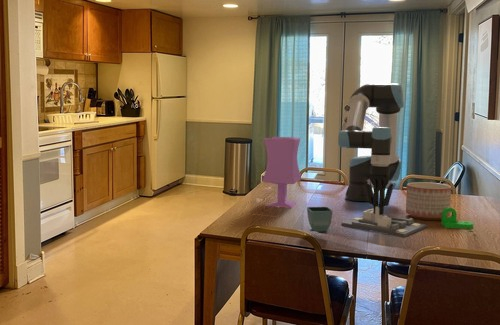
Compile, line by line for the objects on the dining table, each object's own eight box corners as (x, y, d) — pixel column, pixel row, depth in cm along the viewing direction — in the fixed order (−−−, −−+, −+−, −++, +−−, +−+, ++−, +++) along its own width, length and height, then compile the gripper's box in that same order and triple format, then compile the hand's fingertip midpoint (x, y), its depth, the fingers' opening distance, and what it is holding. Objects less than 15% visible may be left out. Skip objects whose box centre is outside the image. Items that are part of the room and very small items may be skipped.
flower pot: (306, 228, 198) (306, 206, 197) (327, 227, 198) (327, 206, 198) (310, 233, 189) (311, 211, 188) (332, 233, 190) (333, 210, 189)
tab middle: (362, 220, 206) (362, 209, 205) (366, 219, 209) (367, 208, 208) (370, 222, 203) (371, 211, 203) (375, 220, 206) (375, 209, 206)
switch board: (341, 225, 203) (341, 217, 202) (366, 217, 219) (366, 210, 219) (404, 237, 184) (404, 229, 184) (426, 227, 200) (426, 219, 200)
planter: (429, 223, 208) (430, 189, 207) (396, 214, 225) (398, 183, 224) (458, 218, 217) (460, 186, 216) (425, 211, 234) (427, 181, 233)
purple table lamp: (271, 202, 253) (272, 136, 249) (300, 204, 248) (301, 137, 244) (262, 207, 238) (263, 138, 235) (293, 210, 233) (294, 139, 230)
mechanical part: (445, 228, 200) (446, 209, 199) (441, 225, 206) (442, 206, 205) (475, 229, 198) (476, 210, 197) (470, 226, 204) (471, 207, 203)
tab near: (377, 227, 194) (377, 216, 193) (381, 225, 197) (382, 214, 196) (386, 229, 191) (387, 217, 191) (391, 227, 194) (391, 215, 194)
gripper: (361, 164, 195) (359, 221, 197) (391, 167, 186) (388, 226, 188) (370, 163, 200) (368, 218, 203) (399, 165, 191) (397, 223, 194)
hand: (378, 222), depth 195 cm, fingers closed
